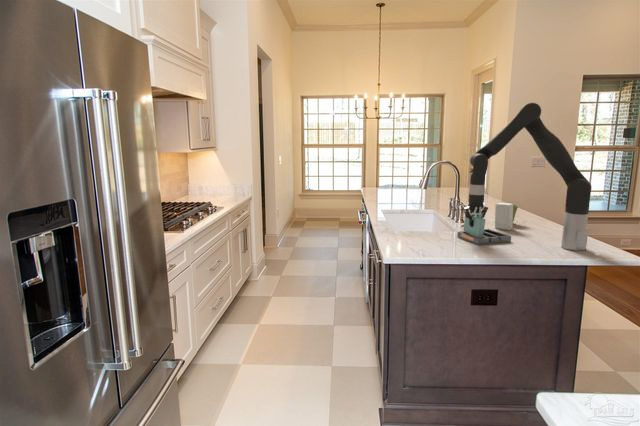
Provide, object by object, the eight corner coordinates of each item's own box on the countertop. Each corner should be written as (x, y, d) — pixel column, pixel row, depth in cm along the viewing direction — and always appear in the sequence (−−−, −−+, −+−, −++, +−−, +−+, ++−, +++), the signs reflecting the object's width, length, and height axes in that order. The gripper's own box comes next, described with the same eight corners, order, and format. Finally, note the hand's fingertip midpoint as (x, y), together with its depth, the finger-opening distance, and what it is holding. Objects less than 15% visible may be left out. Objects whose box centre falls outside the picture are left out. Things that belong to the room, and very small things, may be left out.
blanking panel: (482, 238, 199) (485, 219, 196) (477, 238, 198) (480, 219, 196) (468, 230, 210) (470, 212, 207) (463, 230, 209) (465, 212, 207)
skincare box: (512, 228, 228) (514, 203, 225) (508, 230, 224) (510, 204, 221) (497, 226, 234) (499, 202, 231) (493, 228, 230) (495, 203, 227)
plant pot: (521, 224, 239) (523, 206, 237) (506, 226, 235) (508, 207, 233) (506, 220, 250) (507, 203, 248) (491, 222, 246) (493, 204, 244)
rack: (510, 241, 200) (511, 236, 200) (477, 245, 195) (478, 239, 194) (488, 234, 216) (488, 228, 216) (457, 236, 211) (457, 231, 210)
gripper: (469, 195, 194) (467, 229, 197) (493, 193, 198) (490, 227, 201) (460, 192, 201) (458, 225, 204) (483, 191, 205) (481, 223, 208)
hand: (474, 226), depth 203 cm, fingers closed on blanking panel, 3 cm apart
